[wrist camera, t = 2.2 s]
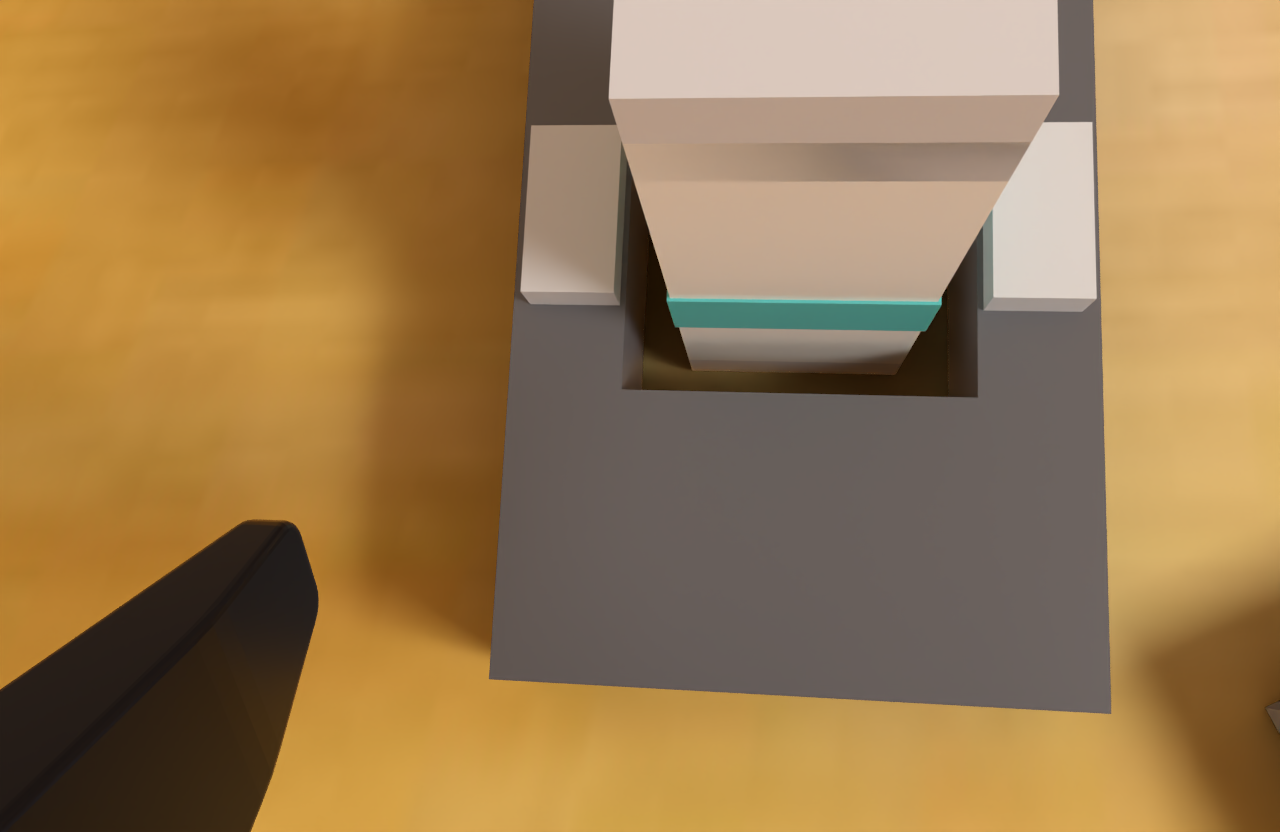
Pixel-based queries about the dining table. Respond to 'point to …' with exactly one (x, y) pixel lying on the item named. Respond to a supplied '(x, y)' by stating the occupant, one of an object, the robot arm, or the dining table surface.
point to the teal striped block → (822, 162)
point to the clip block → (803, 450)
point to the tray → (1274, 714)
